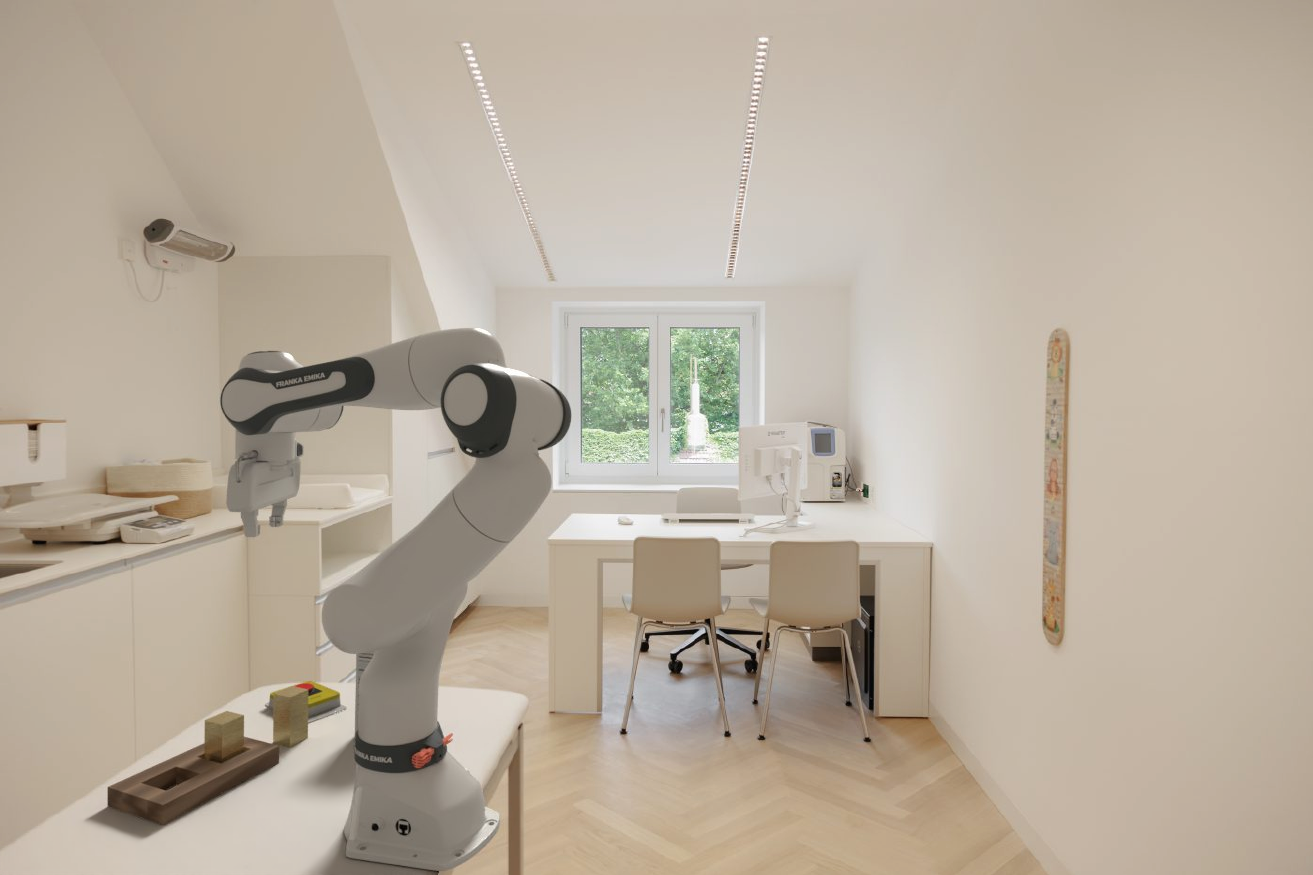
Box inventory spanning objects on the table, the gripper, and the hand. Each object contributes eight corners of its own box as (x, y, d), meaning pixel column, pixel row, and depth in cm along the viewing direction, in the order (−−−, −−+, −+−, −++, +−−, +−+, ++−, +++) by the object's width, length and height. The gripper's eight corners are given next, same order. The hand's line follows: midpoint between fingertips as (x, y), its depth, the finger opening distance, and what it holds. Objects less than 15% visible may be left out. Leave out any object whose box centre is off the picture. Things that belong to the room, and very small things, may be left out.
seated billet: (243, 767, 121) (244, 715, 121) (221, 778, 118) (222, 724, 117) (226, 762, 123) (226, 710, 122) (204, 773, 119) (204, 720, 119)
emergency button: (306, 672, 154) (349, 689, 145) (306, 692, 154) (348, 710, 146) (263, 685, 146) (305, 704, 138) (262, 707, 146) (304, 727, 138)
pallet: (278, 762, 123) (279, 745, 123) (162, 825, 104) (162, 804, 104) (227, 748, 127) (228, 732, 127) (107, 806, 109) (107, 787, 109)
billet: (307, 737, 133) (308, 689, 132) (289, 747, 129) (290, 697, 129) (291, 733, 134) (291, 685, 134) (273, 742, 130) (273, 693, 130)
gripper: (258, 454, 110) (257, 543, 111) (307, 445, 131) (306, 521, 131) (214, 452, 110) (214, 543, 110) (270, 444, 130) (270, 520, 130)
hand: (264, 531), depth 121 cm, fingers open, 8 cm apart
